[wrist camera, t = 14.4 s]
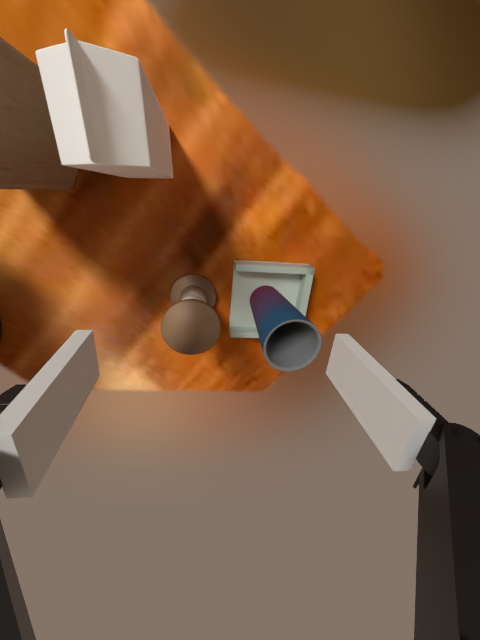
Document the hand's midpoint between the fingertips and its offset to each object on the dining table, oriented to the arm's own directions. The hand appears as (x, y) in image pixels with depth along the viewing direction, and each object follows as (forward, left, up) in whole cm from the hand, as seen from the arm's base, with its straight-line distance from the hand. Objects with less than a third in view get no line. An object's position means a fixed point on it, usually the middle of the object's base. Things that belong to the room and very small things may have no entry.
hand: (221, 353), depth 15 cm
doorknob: (-2, -7, -29) cm, 30 cm away
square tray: (+10, -7, -29) cm, 31 cm away
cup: (+9, -7, -28) cm, 30 cm away
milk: (-8, +12, -29) cm, 32 cm away
